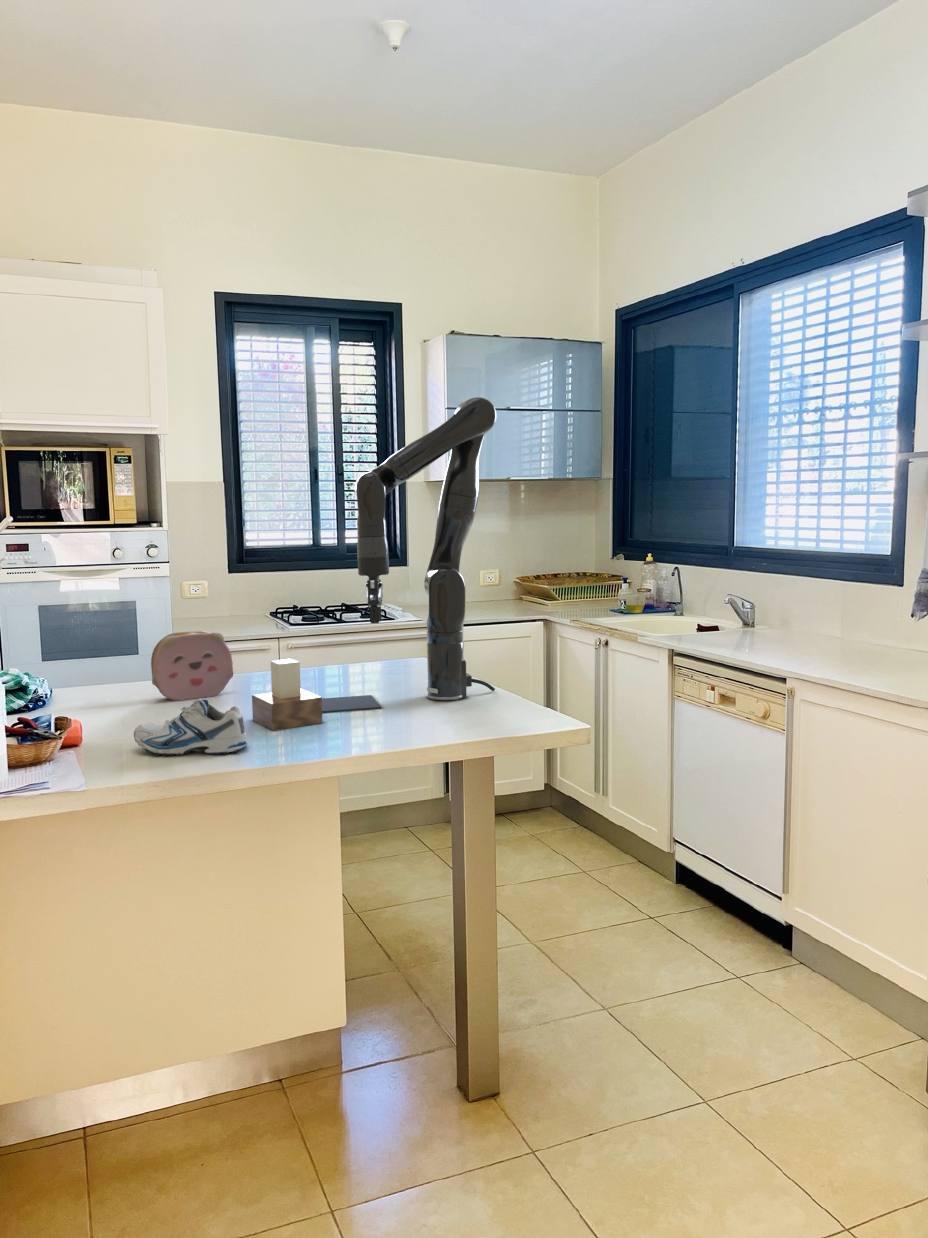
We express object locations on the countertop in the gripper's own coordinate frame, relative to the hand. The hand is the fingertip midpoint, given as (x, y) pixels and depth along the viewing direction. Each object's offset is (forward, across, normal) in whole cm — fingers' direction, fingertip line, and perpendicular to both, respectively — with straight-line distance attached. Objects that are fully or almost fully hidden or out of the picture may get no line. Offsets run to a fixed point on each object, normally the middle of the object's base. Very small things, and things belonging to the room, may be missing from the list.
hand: (376, 622), depth 228 cm
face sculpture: (+18, +14, +49) cm, 54 cm away
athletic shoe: (+23, -37, +36) cm, 57 cm away
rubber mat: (+20, +1, +9) cm, 22 cm away
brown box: (+21, -15, +20) cm, 33 cm away
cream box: (+15, -15, +20) cm, 29 cm away
